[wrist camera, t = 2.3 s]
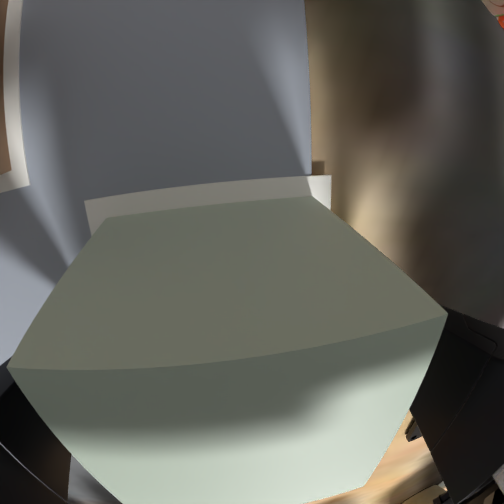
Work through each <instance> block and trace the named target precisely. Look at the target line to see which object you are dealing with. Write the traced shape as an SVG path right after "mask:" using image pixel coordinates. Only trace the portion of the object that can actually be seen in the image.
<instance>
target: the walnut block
mask: <svg viewBox="0 0 504 504" xmlns="http://www.w3.org/2000/svg"><path fill="white" fill-rule="evenodd" d="M7 8H8V0H0V175H2V174H4V173H6V172H9V171H11V170H12V169H11V163H10V156H9V149H8V141H7V132H6V122H5V109H4V86H3V60H4V38H5V26H6V16H7Z"/></svg>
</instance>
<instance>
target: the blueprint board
mask: <svg viewBox="0 0 504 504" xmlns="http://www.w3.org/2000/svg"><path fill="white" fill-rule="evenodd" d="M3 86H4V109H5V122H6V132H7V141H8V149H9V156H10V163H11V169H12V170H11V171H9V172H6V173H4V174H2V175H0V365H1V364H3V363H4V362H5V361H6V360H8V359H9V358H10V357H12V356H13V354H14V352H15V350H16V349H17V347H18V345H19V343H20V342H21V340H22V338H23V336H24V335H25V333H26V331H27V330H28V328H29V326H30V325H31V323H32V321H33V320H34V318H35V317H36V315H37V313H38V312H39V310H40V309H41V307H42V306H43V304H44V302H45V301H46V299H47V298H48V296H49V295H50V293H51V292H52V290H53V289H54V287H55V286H56V284H57V283H58V282H59V280H60V279H61V277H62V276H63V274H64V273H65V272H66V270H67V269H68V267H69V266H70V265H71V263H72V262H73V260H74V259H75V258H76V256H77V255H78V254H79V252H80V251H81V250H82V248H83V247H84V246H85V244H86V243H87V242H88V240H89V239H90V238H91V237H92V235H93V234H94V233H95V231H96V230H97V229H98V228H99V226H100V225H101V224H102V223H103V221H104V220H105V219H106V218H109V217H116V216H123V215H130V214H138V213H145V212H153V211H161V210H169V209H177V208H186V207H195V206H204V205H213V204H223V203H233V202H244V201H255V200H267V199H279V198H292V197H306V196H313V197H314V198H315V199H317V200H318V201H319V202H320V203H322V204H323V205H324V206H326V207H327V208H328V209H329V210H331V175H312V162H311V107H310V81H309V61H308V44H307V29H306V16H305V5H304V0H8V8H7V16H6V26H5V38H4V60H3Z"/></svg>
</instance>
